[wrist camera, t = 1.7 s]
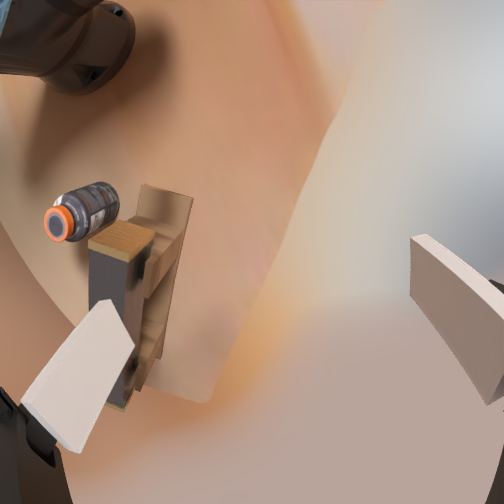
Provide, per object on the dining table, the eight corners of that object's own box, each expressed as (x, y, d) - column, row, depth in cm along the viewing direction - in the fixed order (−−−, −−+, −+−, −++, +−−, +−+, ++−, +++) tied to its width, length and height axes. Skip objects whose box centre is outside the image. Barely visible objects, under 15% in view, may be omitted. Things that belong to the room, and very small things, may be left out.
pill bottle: (82, 187, 35) (31, 206, 24) (114, 176, 34) (64, 192, 24) (93, 225, 37) (46, 254, 26) (125, 217, 36) (80, 246, 26)
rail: (137, 382, 36) (124, 412, 30) (112, 371, 36) (96, 400, 30) (155, 230, 27) (129, 253, 22) (119, 219, 27) (88, 239, 21)
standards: (125, 342, 45) (97, 389, 34) (144, 184, 34) (96, 204, 23) (161, 355, 45) (140, 406, 34) (193, 198, 35) (161, 224, 24)
